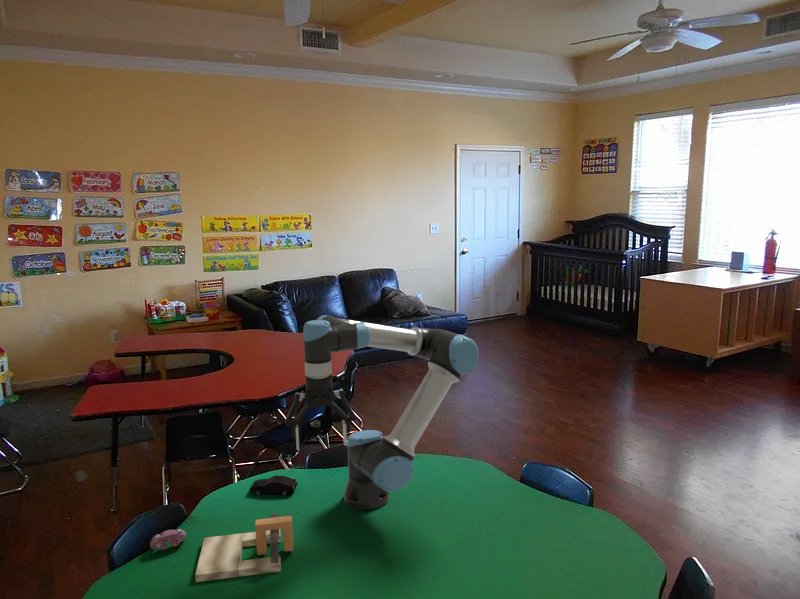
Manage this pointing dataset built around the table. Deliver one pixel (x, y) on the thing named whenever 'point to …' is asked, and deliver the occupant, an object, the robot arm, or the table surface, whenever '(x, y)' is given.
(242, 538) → the wooden base with post
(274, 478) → the toy car
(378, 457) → the robot arm
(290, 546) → the tan wooden arch
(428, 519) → the table surface
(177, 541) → the video game controller
